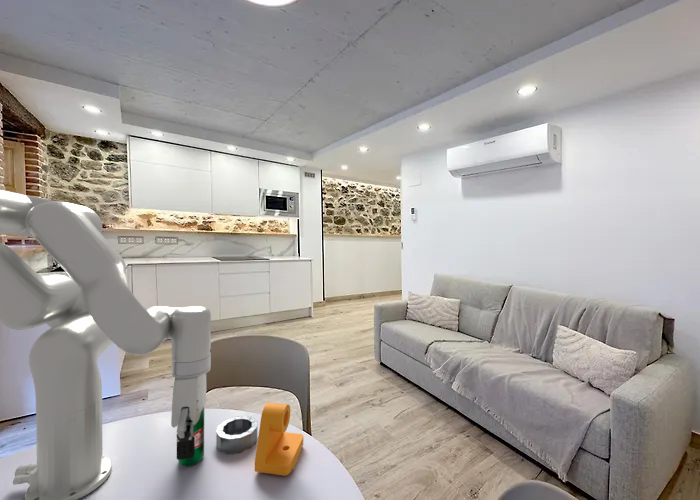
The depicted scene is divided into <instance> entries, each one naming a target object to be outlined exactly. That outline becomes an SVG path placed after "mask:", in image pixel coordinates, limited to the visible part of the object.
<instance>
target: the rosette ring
mask: <svg viewBox="0 0 700 500" xmlns="http://www.w3.org/2000/svg"><path fill="white" fill-rule="evenodd" d="M215 434H216V435H215V439H216V445H215V446H216V449H217V450H218V451H219V452H220V453H223V454H227V455H235V454H242V453H244V452H245V451H248V450H250V449H252V448H253V446H255V445H256V443H258V420H257V419H256V418H254V417H252V416H247V415H241V416H240V415H239V416H234V417H230V418H228V419H225V420H224V421H223V422H222V423H221V424H219V425H218V426H217V429H216V433H215Z"/></svg>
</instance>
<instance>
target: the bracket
mask: <svg viewBox="0 0 700 500" xmlns="http://www.w3.org/2000/svg"><path fill="white" fill-rule="evenodd" d="M290 419H291V406H290V404H287V403H277V402H276V403H274V402H267V403H266V404H265V405H264V407H263V409H262V413H261V417H260V421H259V422H260V424H259V429H258V431H259V432H258V435H257V442H256V443H257V444H256V450H255V457H254V472H255V473H263V474H269V475H270V474H271V475H278V476H288V475H289V474H290V473H291V472H292V471H294V469H295V466H296V465H297V462H298V460H299V458H300V456H301V454H302V449H303V446H304V434H302V433H297V432H289V431H287V429H288V426H289V423H290ZM286 431H287V432H286Z"/></svg>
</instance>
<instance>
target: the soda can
mask: <svg viewBox="0 0 700 500" xmlns="http://www.w3.org/2000/svg"><path fill="white" fill-rule="evenodd" d="M188 422H192V420H187V423H188ZM186 431H188V432H190V426H188V427H186ZM193 437H195V455H194V457H193V458H188V459H181V460H178V459H177V460H178V464H179V465H181V466H182V467H192V466H195V465H196V464H199V463H200V462H201V461H202V460H203V458H204V456H205V406H203V408H202V411H201V415H200V418H199V420H198V422H197V423H196V424H195V425H194V432H193Z"/></svg>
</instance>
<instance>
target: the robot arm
mask: <svg viewBox="0 0 700 500" xmlns="http://www.w3.org/2000/svg"><path fill="white" fill-rule="evenodd" d="M102 232H103V222H102V219H101V218H100V216H99V215H98V214H97V212H95V210H93V209H91V208H89V207H87V206H84V205H82V204H81V205H80V204H75V203H72V202H66V201H60V200H51V199H47V198H42V197H37V196H33V195H27V194H23V193H18V192H14V191H10V190H5V189H0V234H1V235H2V234H3V235H4V234H5V235H7V234H8V235H13V236H14V235H16V236H20V237H21V236H22V237H29V238H33V239H35V241H36V242H37V243H38V244H39V245H40V246H41V247H42V248H43V249H44V251H45V252H47V253H48V254H49V256H51V258H52V259H53V260H54V261H55V262H56V263H57V264H58V265H59V266H60V267H61V269H63V270H64V272H66V274H67V275H68V276H67V275H64V274H57V273H46V274H40V273H38V272H37V271H35V269H33V268H32V267H31V266H30V265H28V263H26V261H25V260H24V259H23V258H22V257H21V255H19V254H18V253H17V252H16V250H13V249H12V248H11V247H9V246H8V245H6V244H5V243H3V242H1V241H0V324H1V325H2V326H5V327H6V328H8V329H11V330H16V331H23V330H24V331H25V330H26V331H27V330H30V329H34V328H37V327H40V326H43V325H46V324H47V325H48V327H50V328H49V329H47V330H46V331H45V332H43V333H42V334H40V336H38V338H36V339H35V341H34V342H33V344H32V346H31V348H30V350H29V355H28V363H29V364H28V365H29V369H30V373H31V377H32V379H33V384H34V392H35V393H34V394H35V415H36V416H35V417H36V418H35V420H36V421H35V423H36V463H33V464H32V463H31V464H24V465H23V464H22V465H19V466H18V467H17V468H16V469H15V472H14V478H13V480H12V485H13V486H14V485H16V486H17V485H21V484H25V483H27V484H28V485H29V486H28V488H26V491H25V494H24V500H79V499H82V498H83V497H85V496H86V495H89V494H90V493H92V492H93V491H95V490H96V489H97V488H98V487H100V486H101V485H102V484H103V483H105V481H107V479H108V478H109V477H110V474H111V473H112V469H113V461H112V459H110V457H107V456H105V455H103V387H102V386H103V384H102V377H101V372H100V368H99V366H98V359H99V357H100V356H101V355H102V354H104V353H105V352H106V351H107V350H108V349H109V348H110V347H111V346H113V344H115V345H116V346H117V347H118V348H119V349H121V350H122V351H124V352H125V353H127V354H130V355H133V356H143V355H148V354H150V353H152V352H154V351H155V350H157V349H158V348H159V347H160V346H161V345H162V344H163V343H164V341H166V340H169V339H170V340H171V376H172V378H174V381H173V389H172V400H171V401H172V402H171V417H170V418H171V421H170V423H171V424H170V426H171V427H172V428H176V427H177V428H176V460H181V459H188V458H193V457H194V455H195V437H193V432H194V425H195V424H196V423H197V422H198V420H199V418H200V415H201V411H202V408H203V406H204V407H205V406H206V402H207V401H206V400H207V373H209V372H210V371H211V367H212V366H211V365H212V364H211V363H212V357H211V354H212V353H211V351H212V348H211V347H212V346H211V345H212V344H211V343H212V341H211V340H212V339H211V338H212V334H211V333H212V332H211V331H212V329H211V328H212V327H211V326H212V320H211V319H212V314H211V311H210V308H208V307H207V306H202V305H191V306H190V305H189V306H183V307H174V306H173V307H172V306H171V307H170V306H163V305H154V306H150V307H146V308H145V307H144V306H143V305H142V303H141V302H140V301H139V300H138V299H137V298H136V297H135V294H134V293H133V292H132V290H131V288H130V286H129V283H128V280H127V276H126V275H127V271H126V270H127V267H126V263H125V260H124V258H123V257H122V256H121V255H120V254H119V252H118V251H117V250H116V249H115V248H114V247H113V246H112V245H111V243H109V241H108V240H107V239H106V238H105V237H104V235H103V234H102ZM187 420H192V422H188V423H187ZM188 426H190V432H188V431H186V427H188Z"/></svg>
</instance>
